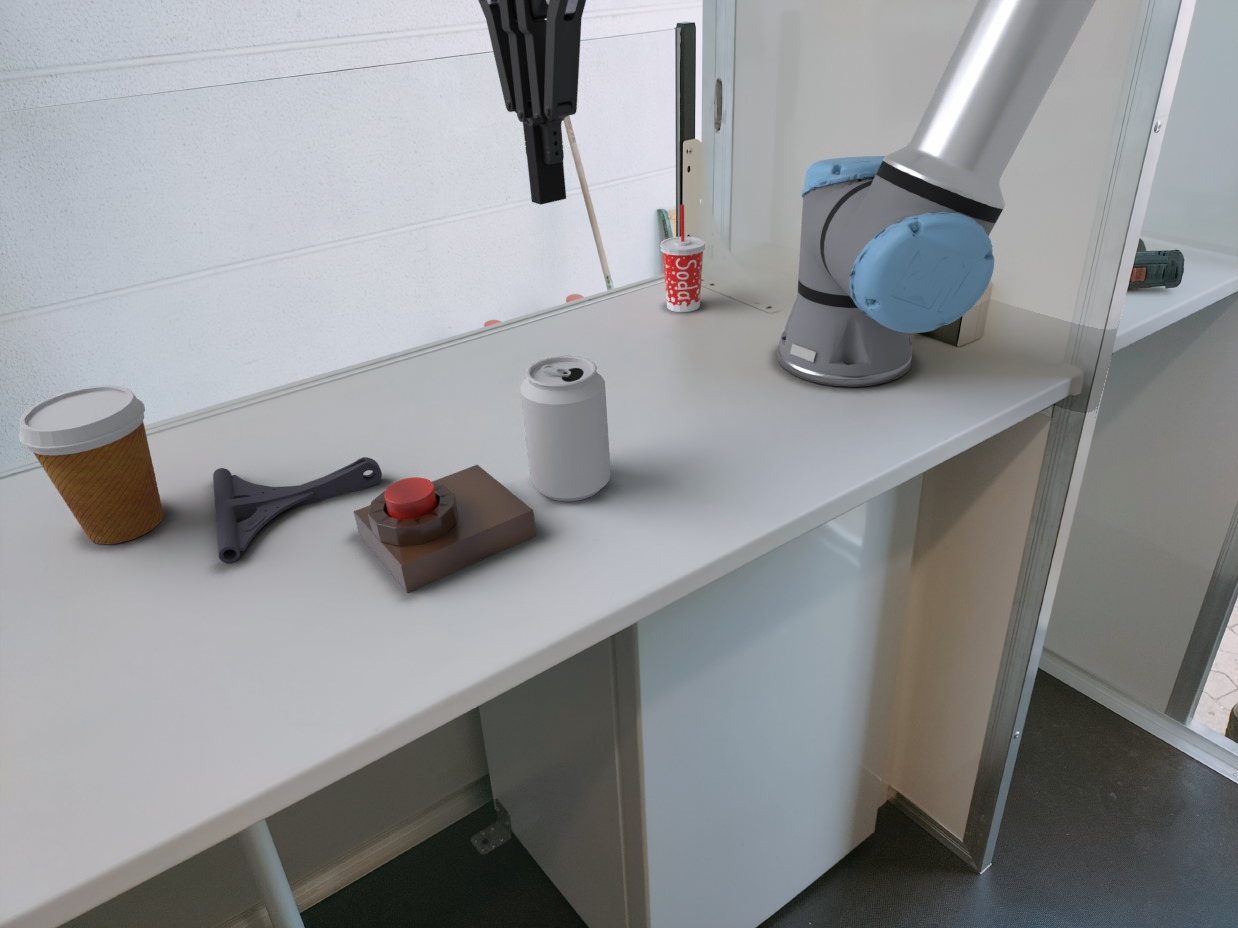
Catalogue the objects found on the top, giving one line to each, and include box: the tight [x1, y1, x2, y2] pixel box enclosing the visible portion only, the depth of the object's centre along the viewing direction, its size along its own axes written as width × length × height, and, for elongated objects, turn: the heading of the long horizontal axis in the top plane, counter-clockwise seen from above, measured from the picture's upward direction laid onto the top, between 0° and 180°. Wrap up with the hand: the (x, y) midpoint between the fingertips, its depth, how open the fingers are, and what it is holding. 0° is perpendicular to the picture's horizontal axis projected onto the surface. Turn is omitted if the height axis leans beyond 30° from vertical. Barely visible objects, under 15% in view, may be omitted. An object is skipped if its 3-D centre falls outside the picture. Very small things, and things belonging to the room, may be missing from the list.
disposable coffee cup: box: [18, 384, 164, 545], centre depth 75 cm, size 10×10×12 cm
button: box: [384, 476, 437, 520], centre depth 70 cm, size 4×4×2 cm
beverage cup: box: [659, 204, 706, 313], centre depth 116 cm, size 6×6×14 cm
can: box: [519, 354, 612, 502], centre depth 77 cm, size 8×8×12 cm
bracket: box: [212, 456, 383, 564], centre depth 79 cm, size 14×15×3 cm
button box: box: [353, 464, 537, 594], centre depth 72 cm, size 12×10×4 cm
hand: (549, 200), depth 75 cm, fingers closed
